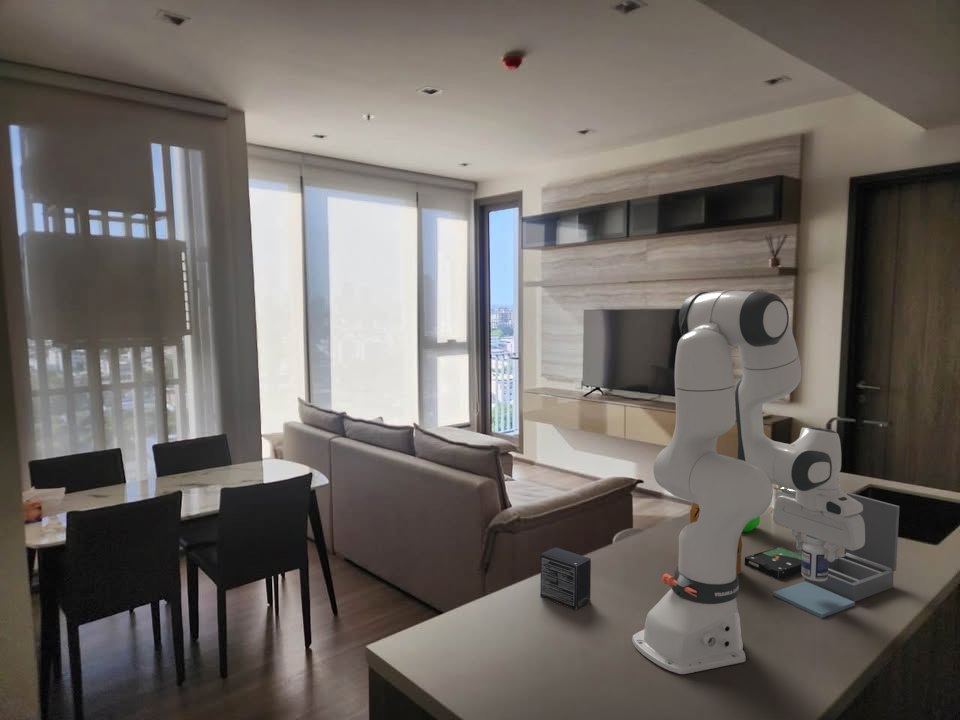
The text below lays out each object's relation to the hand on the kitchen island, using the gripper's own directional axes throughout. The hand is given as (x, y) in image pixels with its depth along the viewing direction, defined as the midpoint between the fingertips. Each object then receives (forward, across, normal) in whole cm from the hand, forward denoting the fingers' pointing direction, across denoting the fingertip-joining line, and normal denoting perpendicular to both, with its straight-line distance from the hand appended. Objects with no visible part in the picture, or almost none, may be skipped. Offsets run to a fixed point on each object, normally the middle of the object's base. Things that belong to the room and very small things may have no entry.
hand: (814, 555), depth 140 cm
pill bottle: (+5, 0, 0) cm, 5 cm away
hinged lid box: (+11, -1, +15) cm, 19 cm away
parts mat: (+11, 0, 0) cm, 11 cm away
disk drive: (+12, -16, +10) cm, 22 cm away
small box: (+11, -28, -50) cm, 58 cm away
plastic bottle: (+11, -39, +24) cm, 47 cm away
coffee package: (+11, -23, -6) cm, 26 cm away
